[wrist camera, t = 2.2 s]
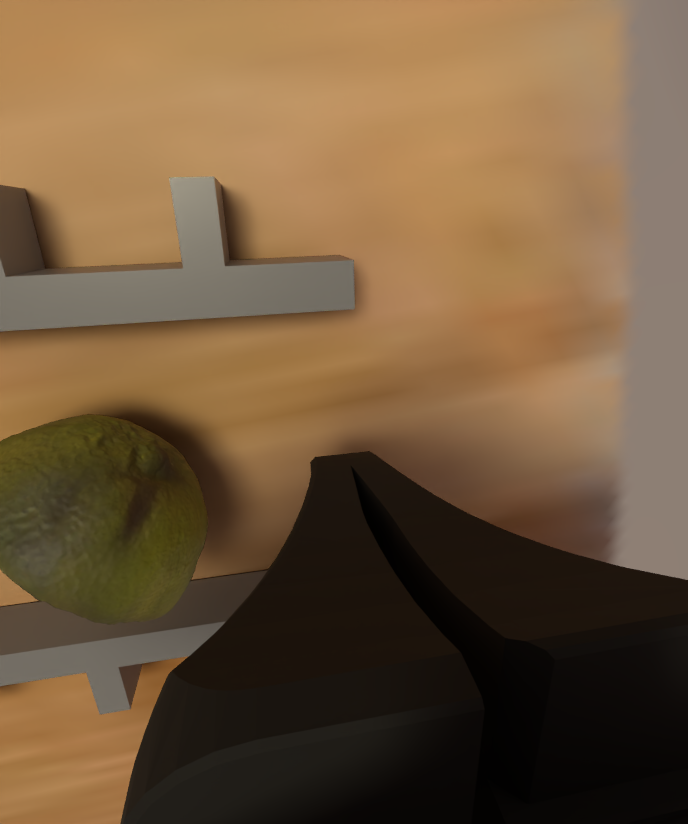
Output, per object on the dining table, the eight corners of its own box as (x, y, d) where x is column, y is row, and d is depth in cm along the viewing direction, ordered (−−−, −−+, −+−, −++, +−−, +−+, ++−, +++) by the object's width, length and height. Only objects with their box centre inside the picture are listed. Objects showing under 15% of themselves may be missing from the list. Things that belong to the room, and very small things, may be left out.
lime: (212, 537, 14) (189, 694, 9) (26, 534, 13) (-104, 707, 8) (220, 392, 12) (198, 493, 8) (10, 375, 11) (-160, 480, 7)
